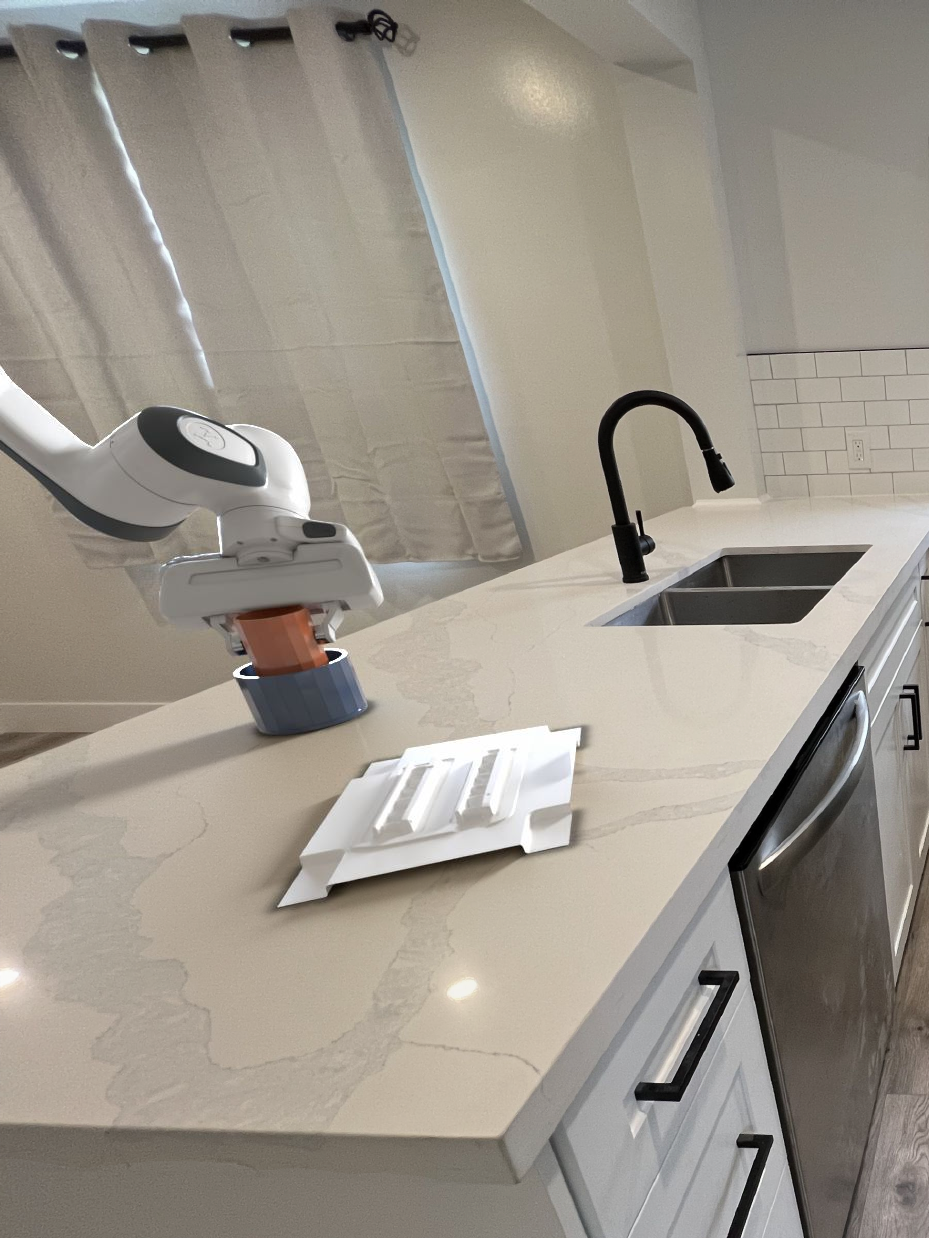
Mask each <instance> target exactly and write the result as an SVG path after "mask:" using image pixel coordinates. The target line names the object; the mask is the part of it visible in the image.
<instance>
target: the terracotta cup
mask: <svg viewBox="0 0 929 1238" xmlns="http://www.w3.org/2000/svg"><path fill="white" fill-rule="evenodd" d="M232 620H233V623H234V625H235V630H236V631H237V634H238V636H240V638H241V641H242V643H243V645H244V647H245V649H246V652H247V654H248V655H247V656H248V658H249V660H250V663H252V665H253V667H254V670H255V672H256V674H257V676H258V677H265V676H276V675H282V674H288V673H294V672H299V671H303V670H308V669H311V668H315V667H318V666H322V665H325V664H327V663H329V660H328V658H327V655H326V653H325V650H324V649H325V648H324V646H323V645H324V644H320V643H319V641H317V640H316V638H315V631H314V626H315V623H314V620H313V618H312V616H310V613H309V611H308V608H307V607H306V606H304V605H295V606H287V607H279V608H271V609H263V610H254V611H249V612H245V613H242V614H239V615H236V616H235V617H233V618H232Z"/></svg>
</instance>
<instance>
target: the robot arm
mask: <svg viewBox="0 0 929 1238" xmlns="http://www.w3.org/2000/svg"><path fill="white" fill-rule="evenodd" d="M0 451H1V452H2V453H4V454H5V455H7V456H8V457H9V458H10V459H11V460H12V461H14V462H15V463H16V464H17V465H19V466H20V467H21V468H22V469H23V470H25V471H26V472H27V473H28V474H30V475H31V476H32V477H33V478H34V479H36V480H37V481H38V482H39V483H40V485H42V486H43V487H44V488H45V489H46V490H47V491H48V492H49V493H50V494H51V495H52V496H53V498H54V499H56V501H57V502H58V503H59V504H60V505H61V506H62V507H63V509H65V511H67V513H69V514H70V515H71V516H72V517H73V518H74V519H76V520H77V521H78V522H80V523H81V524H83V525H84V526H86V527H88V528H89V529H91V530H93V531H95V532H97V533H100V534H103V535H105V536H108V537H112V538H114V539H119V540H124V541H129V542H136V543H137V542H138V543H152V542H158V541H161V540H164V539H166V538H167V537H169V536H170V535H171V534H172V533H173V532H174V531H175V530H176V529H178V528H179V526H181V525H182V524H184V522H185V521H186V520H187V518H188V517H190V516H191V515H192V514H194V513H196V512H197V511H198V510H200V509H201V508H203V509H206V510H209V511H210V512H212V513H214V514H215V516H216V518H217V520H216V521H217V528H218V529H217V530H218V537H219V546H220V547H219V548H220V552H215V553H205V554H200V555H194V556H184V555H183V556H177V557H175V558H173V559H172V561H169V562H167V563H165V564H163V565H162V566H160V567H159V569H158V571H157V573H158V582H159V586H160V589H159V598H158V611H159V614H160V616H161V617H162V618H163V620H165V621H166V622H167V623H168V624H170V625H171V626H172V627H174V628H175V629H177V630H179V631H180V632H183V633H193V632H200V631H207V630H215V632H216V633H218V635H220V636H221V637H222V638H223V639H224V641H225V649H226V651H227V653H228V654H229V656H232V657H233V658H234V657H241V656H248V654H247V652H246V649H245V647H244V645H243V643H242V641H241V638H240V636H239V635H231V634H233V633H236V627H235V625H234V623H233V620H232V618H233V617H235V616H236V615H239V614H242V613H245V612H249V611H254V610H263V609H271V608H279V607H287V606H295V605H304V606H306V607H307V608H308V611H309V613H310V616H311V617H317V616H324V615H326V616H325V617H324V619H323V621H322V623H321V624H316V625H315V624H314V625H315V626H314V631H315V638H316V640H317V641H319V643H320V644H322V645H327V644H333V643H337V639H336V633H335V632H336V631H337V630H338V628H339V627H340V625H341V624H342V622H343V621H344V619H345V616H344V613H348V612H356V611H363V610H372V609H377V608H379V606H380V605H381V604H382V603H383V602H384V600H385V598H384V594H383V589H382V585H381V584H380V581H379V578H378V576H377V574H376V572H375V571H374V568H373V567H372V565H371V563H370V562H369V560H368V559H367V557H366V555H365V552H364V550H363V548H362V545H361V544H360V542H359V540H358V539H357V538H356V536H355V534H353V532H352V531H351V529H349V528H348V527H347V525H345V524H342V523H337V522H331V521H329V522H328V521H321V520H315V519H314V520H313V519H311V518H310V516H309V513H310V510H311V506H312V505H311V504H312V503H311V496H310V491H309V485H308V481H307V477H306V473H305V470H304V468H303V465H302V463H301V460H300V458H299V456H298V455H297V453H296V451H295V450H294V448H293V447H292V446H291V444H289V443H288V442H287V441H286V440H285V439H284V438H283V437H281V436H280V435H278V434H276V433H274V432H273V431H271V430H268V429H266V428H262V427H260V426H256V425H251V424H242V423H241V424H239V423H237V424H232V425H231V424H230V425H225V424H223V423H220V422H218V421H216V420H214V419H211V418H209V417H207V416H204V415H202V414H199V413H196V412H193V411H191V410H188V409H185V408H180V407H175V406H168V405H153V406H148V407H145V408H144V409H142V410H141V411H140V412H138V413H136V414H135V415H133V417H130V419H127V421H125V422H124V423H122V424H121V425H119V427H116V429H114V430H113V431H112V433H111V434H109V435H108V436H106V437H105V438H104V439H103V440H101V441H100V442H99V443H96V445H95V446H91V445H88V444H86V443H85V442H83V441H82V440H81V439H80V438H78V437H77V436H76V435H74V434H73V432H71V431H70V430H69V429H68V428H67V427H66V426H64V425H63V424H62V423H61V422H59V420H57V419H56V418H55V417H54V416H53V415H51V413H49V412H48V411H47V410H46V409H45V408H43V407H42V406H41V405H40V404H38V402H36V401H35V400H34V399H32V398H31V396H29V395H28V394H27V393H26V392H25V391H24V390H22V389H21V388H20V387H19V386H18V385H16V384H15V383H14V382H13V380H11V378H10V377H9V376H8V375H7V374H6V373H5V371H4V369H3V368H2V367H1V366H0Z"/></svg>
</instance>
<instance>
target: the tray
mask: <svg viewBox="0 0 929 1238" xmlns="http://www.w3.org/2000/svg"><path fill="white" fill-rule="evenodd" d="M581 735H582V727H576V728H568V729H563V730H557V731H550V729H549V727H548V725H546V724H544V725H538V726H533V727H527V728H521V729H520V728H519V729H514V730H509V731H502V732H497V733H496V732H495V733H491V734H485V735H479V736H474V737H473V736H472V737H467V738H462V739H461V738H460V739H455V740H450V741H442V742H437V743H432V744H424V745H420V746H419V745H418V746H414V747H407V748H406V749H405V750H404V752H403V753H402V755H401V757H399V758H393V759H388V760H381V761H375V762H371V763H370V765H369V767H368V768H367V769H366V771H365V772H364V774H362V775H363V776H362V777H357V778H352V779H350V781H349V783H348V784H347V785H346V787H345V788H344V790H343V791H342V793H341V794H340V796H339V797H338V798H337V800H336V802H335V803H334V805H333V806H332V808H331V809H330V811H329V812H328V814H327V815H326V817H325V818H324V819H323V820H322V823H320V825H319V827H318V829H316V831H315V833H314V834H313V836H312V837H311V839H310V840H309V841H308V843H307V844H306V846H305V848H304V849H303V850H302V851H301V853H300V854H299V857H298V858H299V861H300V865H301V870H300V871H299V873H298V875H297V876H296V877H295V879H294V880H293V882H292V883H291V885H290V887H289V888H288V890H287V891H286V893H285V894H284V896H283V897H282V899H281V900H280V902H279V904H278V905H277V908H281V907H286V906H290V905H296V904H299V903H300V904H301V903H305V902H308V901H314V900H318V899H324V898H327V896H328V894H329V893H330V891H331V889H332V887H333V886H334V885H336V884H340V883H345V882H350V881H351V882H352V881H355V880H359V879H364V878H369V877H373V876H379V875H383V874H388V873H392V872H393V873H394V872H397V871H403V870H406V869H412V868H417V867H421V866H425V865H431V864H435V863H440V862H444V861H449V860H453V859H458V858H463V857H467V856H474V855H478V854H482V853H487V852H488V853H489V852H493V851H498V850H503V849H506V848H510V847H515V846H522V848H523V850H524V853H526V854H532V853H536V852H541V851H545V850H549V849H554V848H555V849H556V848H560V847H564V846H569V844H570V836H571V830H572V829H571V828H572V820H573V810H572V807H571V797H572V796H571V795H572V787H573V780H574V779H573V778H574V770H575V762H576V752H577V747H580V743H581Z"/></svg>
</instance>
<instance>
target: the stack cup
mask: <svg viewBox="0 0 929 1238" xmlns="http://www.w3.org/2000/svg"><path fill="white" fill-rule="evenodd" d="M324 650H325V653H326V655H327V658H328V660H329V663H327V664H325V665H322V666H318V667H315V668H311V669H308V670H303V671H299V672H294V673H288V674H282V675H276V676H265V677H258V676H257V674H256V672H255V670H254V667H253V665H252V663H251V662H250V663H247V664H244V665H243V666H241V667H239V668H237V669H235V670H234V672H232V675H233V678H234V680H235V682H236V683H237V686H238V689H239V691H240V693H241V695H242V698H243V700H244V702H245V704H246V706H247V708H248V710H249V713H250V715H251V716H252V719H253V721H254V723H255V725H256V727H257V729H258V731H259V732H260V733H262V734H265V735H273V736H281V735H282V736H285V735H293V734H294V735H296V734H302V733H308V732H313V731H317V730H322V729H325V728H329V727H332V726H336V725H339V724H341V723H344V722H345V723H346V722H347V721H350V720H352V719H354V718H356V717H358V716H360V715H361V714H363V713H364V712H366V710H367V709H368V707H369V705H368V703H367V701H368V700H367V698H366V696H365V693H364V690H363V687H362V686H361V683H360V680H359V678H358V675H357V672H356V669H355V667H354V665H353V662H352V660H351V657H350V655H349V652H347V651H346V650H345V649H341V648H340V649H339V648H324Z"/></svg>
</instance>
